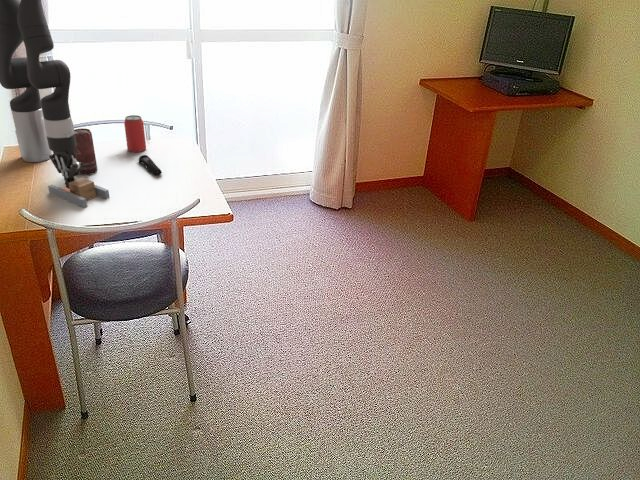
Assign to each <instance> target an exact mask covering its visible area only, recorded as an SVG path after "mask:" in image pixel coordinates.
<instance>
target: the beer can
mask: <svg viewBox="0 0 640 480" xmlns="http://www.w3.org/2000/svg"><path fill="white" fill-rule="evenodd" d="M144 124H145V123H144V121H143V118H142V116H140V115H138V114H137V115H136V114H134V115H133V114H132V115H127V116H126V117H125V118H124V125H123V126H124V132H125V140H126V147H127V149H126V150H128V151H129V152H131V153H141V152H144V151H145V150H146V149H147V144H146V143H147V142H146V136H145V125H144Z"/></svg>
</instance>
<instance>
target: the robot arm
mask: <svg viewBox="0 0 640 480" xmlns="http://www.w3.org/2000/svg"><path fill="white" fill-rule="evenodd" d="M42 2H43V1H42V0H0V85H1V87H2V88H4V89H6V90H15V89H25V90H24V91H23V92H22V93H21V94H20V95H17V96H15V97H13V98H12V99H11V100H9V107H10V111H11V115H12V119H13V123H14V124H13V125H14V127H15V135H16V139H17V143H18V148H19V152H20V153H19V154H20V157H21V158H22V160H23V161H24V162H28V163H39V162H45V161H48V160H50V161H51V164H53V166H54V168H55V169H56V171H57V172H58V173H59V174H61V176H62V177H63V179H64V184H65V186H66V188H69V184H68V183H69V182H72V181H74V177H77V176H79V175H80V173H79V172H80V170H81V168H82V166H83V164H82V162H78V161H77V160H76V155H75V153H74V150H75V148H76V147H77V143H76V137H75V132H74V130H75V127H74V123H73V120H72V115H71V109H70V105H69V99H70V97H69V96H70V95H69V93H70V88H71V87H70V86H71V72H70V71H71V70H70V68H69V66H68V65H67V64H66V63H65V61H63V60H62V59H52V60H43V61H40V56H41V55H42V54H45V53H49V52H51V51H52V50H54V47H55V45H54V41H53V38H52V34H51V31H50V28H49V25H48V22H47V19H46V15H45V11H44V7H43V3H42ZM22 43H23V44H24V46H25V53H26V57H24V56H23V57H13V54H14V53H15V52H16V50H17V49H18V48H19V47H20V46H21V44H22ZM52 88H54V91H53V92H52V93H50V94H48V95H47V94H46V95H45V96H43V97H42V98H41V94H40V93H41V92H40V90H44V89H46V90H47V89H52Z"/></svg>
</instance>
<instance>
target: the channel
mask: <svg viewBox="0 0 640 480" xmlns="http://www.w3.org/2000/svg"><path fill="white" fill-rule="evenodd" d="M77 179H80V177H77V176H74V181H75V180H77ZM94 186H95V192H96V196H98V197H101V198H103V199H106V200H107V199H109V198H110V193H109V192H110V191H109V189H106V188H105V187H102V186H99V185H97V184H95V183H94ZM47 187H48V192H49V194H51V195H53V196H54V197H58V198H60V199H62V200H64V201H68V203H71V204H74V205H76V206H78V207H81V208H83V209H84V208H88V203H87V202H88V200H87V201H86V199H85V198H83V197H81V196H78V195H76V194H73V193H71V192H70V189H69V188H66V185H65V186H64V187H63V186H62V187H59V186H57V185H54V184H48V186H47Z"/></svg>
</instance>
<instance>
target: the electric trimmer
mask: <svg viewBox="0 0 640 480" xmlns="http://www.w3.org/2000/svg"><path fill="white" fill-rule="evenodd" d="M138 163H139V164H142V165H143V166H145V167H146V170H147V171H148V172H149V173H151V174H153V175H155V176H156V175H157V176H158V175H162V174H163V173H162V170H161V169H160V168H159V166H158V165H156V163H155V162H154V161H153V160H152V159H151V157H149V156H148V155H146V154H144V155H143V154H142V155H141V156H139V158H138Z"/></svg>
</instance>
